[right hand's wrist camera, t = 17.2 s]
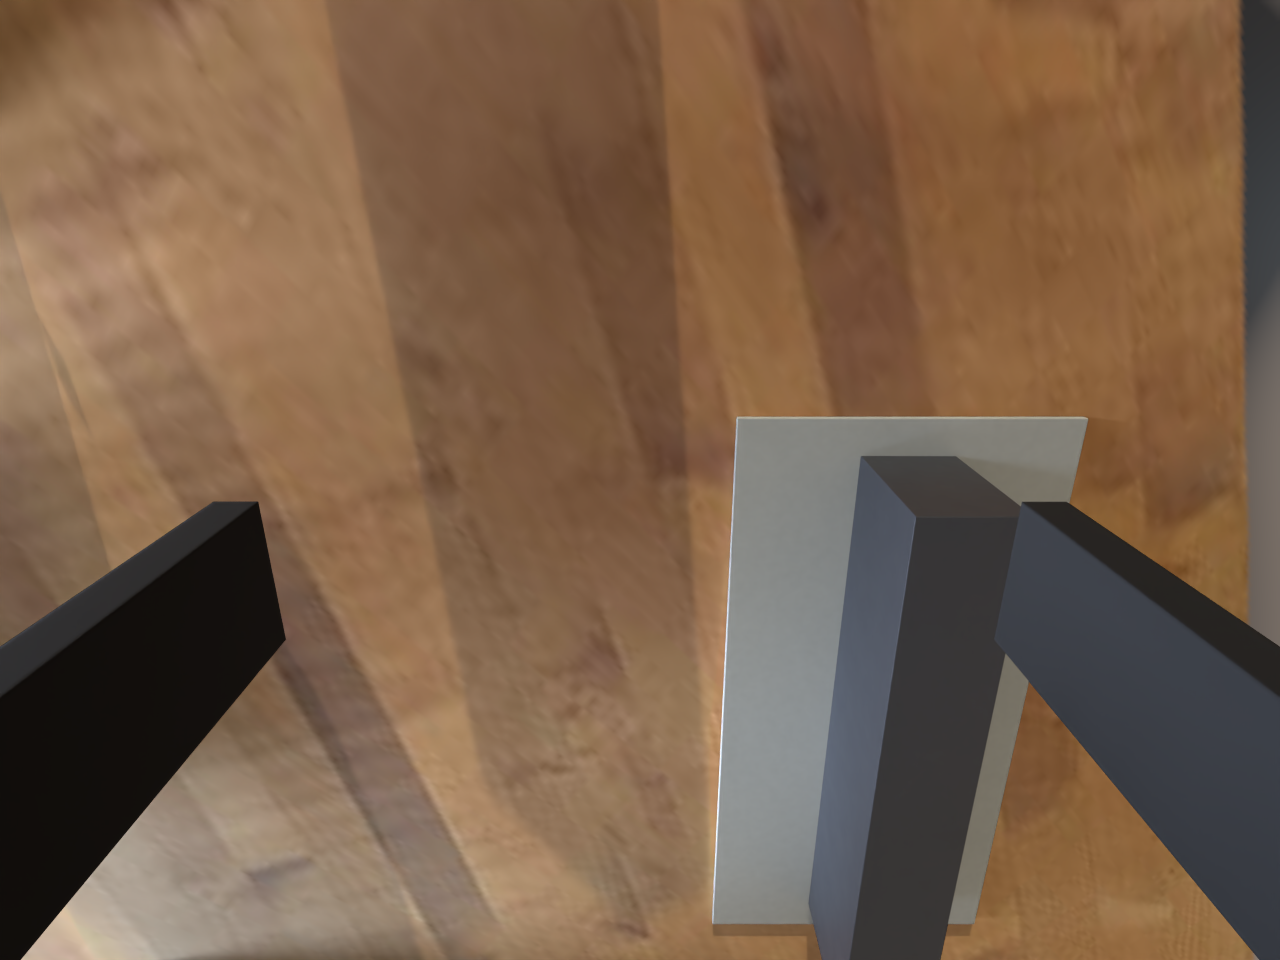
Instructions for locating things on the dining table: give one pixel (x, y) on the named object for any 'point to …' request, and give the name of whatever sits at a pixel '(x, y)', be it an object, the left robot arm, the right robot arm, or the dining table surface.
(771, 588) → the grey rubber mat
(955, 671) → the charcoal beam
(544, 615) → the dining table surface
